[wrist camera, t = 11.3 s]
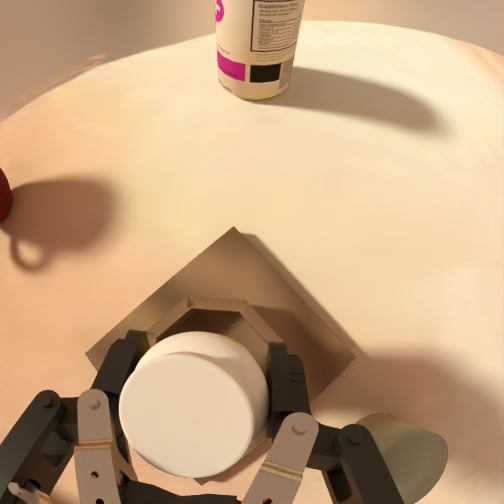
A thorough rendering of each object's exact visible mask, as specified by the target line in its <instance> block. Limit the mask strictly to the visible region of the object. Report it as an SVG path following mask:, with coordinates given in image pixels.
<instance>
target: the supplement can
mask: <svg viewBox="0 0 504 504" xmlns="http://www.w3.org/2000/svg"><path fill="white" fill-rule="evenodd" d="M304 2H305V0H215V16H216V40H217V62H218V78H219V83H220V85H221V86H222V87H223V88H224V90H226V91H228V92H229V93H231V94H233V95H235V96H237V97H240V98H244V99H249V100H261V99H268V98H271V97H274V96H276V95H278V94H280V93H282V92H283V91H284V90H285V89H286V88H287V87H288V85H289V81H290V76H291V71H292V65H293V60H294V55H295V50H296V44H297V39H298V34H299V28H300V23H301V18H302V12H303V7H304Z"/></svg>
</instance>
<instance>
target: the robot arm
mask: <svg viewBox="0 0 504 504" xmlns="http://www.w3.org/2000/svg"><path fill="white" fill-rule="evenodd" d="M149 349H150V345H149V341H148V336H147V333H146V331H141V330H134V329H129V330H128V332H127V334H126V337H125V339H120V338H118V339H117V340H116V341H115V342H114V343H113V344H112V345H111V346H110V348H109V350H108V352H107V356H105V358H104V361H103V363H102V365H101V367H100V369H99V371H98V373H97V376H96V378H95V380H94V382H93V384H92V387H91V388H90V389H89V390H87V391H85V392H83V393H82V394H81V395H80V396H79V397H74V398H60V397H59V395H58V394H57V393H56V392H54V391H52V390H44V391H42V392H40V393H39V394H37V396H36V397H35V398H34V399H33V401H32V402H31V403H30V405H29V406H28V407H27V409H26V410H25V411H24V413H23V414H22V415H21V417H20V418H19V419H18V421H17V422H16V424H15V425H14V426H13V428H12V429H11V431H10V432H9V433H8V435H7V436H6V438H5V439H4V441H3V442H2V443H1V445H0V504H51V500H50V498H49V495H50V493H51V492H52V490H53V488H54V486H55V485H56V483H57V481H58V479H59V478H60V476H61V474H62V473H63V471H64V469H65V467H66V466H67V464H68V462H69V461H70V459H71V457H72V456H73V454H74V459H75V469H76V477H77V485H78V492H79V498H80V504H292V502H293V500H294V498H295V496H296V493H297V491H298V488H299V486H300V484H301V481H302V477H303V476H302V475H303V472H304V469H305V467H308V468H312V469H317V470H321V472H322V475H323V477H324V480H325V483H326V486H327V488H328V491H329V494H330V497H331V499H332V502H333V504H404V501H403V499H402V497H401V495H400V493H399V491H398V489H397V486H396V484H395V482H394V480H393V478H392V476H391V474H390V472H389V470H388V467H387V465H386V463H385V461H384V459H383V457H382V455H381V453H380V451H379V449H378V447H377V445H376V443H375V441H374V439H373V436H372V434H371V433H370V431H369V430H368V429H367V428H366V427H364V426H362V425H360V424H349V425H347V426H345V427H343V428H342V429H338V428H334V427H329V426H325V425H323V424H321V423H319V422H318V421H316V420H315V418H314V417H313V416H312V414H311V411H310V405H309V398H308V391H307V384H306V378H305V371H304V365H303V362H302V361H301V359H300V358H299V356H298V355H297V354H288V353H287V345H286V342H269V344H268V351H267V357H266V363H265V379H266V382H267V386H268V390H269V399H270V403H269V413H268V417H267V420H266V438H272V446H271V449H270V451H269V453H268V455H267V457H266V459H265V461H264V463H263V464H262V465H261V467H260V469H259V471H258V473H257V475H256V477H255V479H254V480H253V482H252V484H251V486H250V488H249V490H248V492H247V493H246V495H245V497H244V499H243V501H239V500H237V496H231V495H217V494H202V495H191V496H179V495H176V494H174V493H171V492H169V491H166V490H164V489H162V488H159V487H157V486H155V485H151V484H146V483H142V482H138V478H137V476H136V473H135V471H134V469H133V466H132V462H131V457H130V452H129V447H128V441H127V438H126V436H125V434H124V431H123V429H122V426H121V422H120V417H119V401H120V396H121V392H122V390H123V387H124V385H125V383H126V381H127V380H128V378H129V377H130V375H131V374H132V373H133V372H134V371H135V368H136V366H137V364H138V363H139V361H140V360H141V358H142V357H143V356H144V355H145V354H146V353H147V351H148V350H149Z"/></svg>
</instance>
